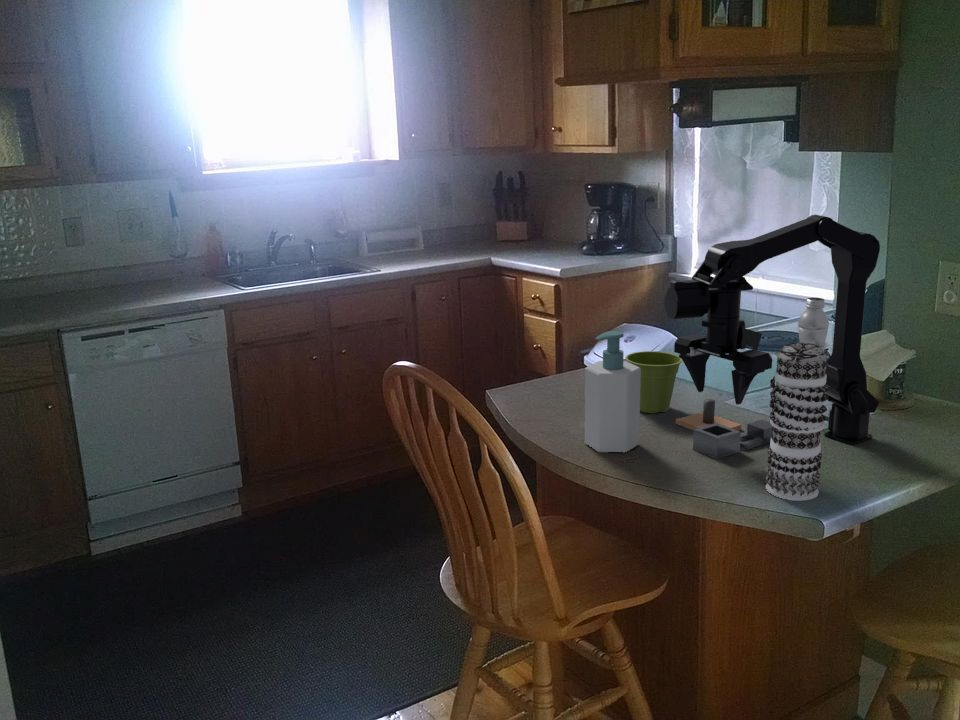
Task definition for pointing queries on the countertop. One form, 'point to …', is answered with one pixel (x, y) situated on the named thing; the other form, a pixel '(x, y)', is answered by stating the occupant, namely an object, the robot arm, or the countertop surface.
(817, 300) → the plastic bottle
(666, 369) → the plant pot
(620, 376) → the soap bottle
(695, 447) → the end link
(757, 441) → the dark clasp block
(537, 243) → the countertop surface
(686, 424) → the tan board with knob
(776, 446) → the decorative candle
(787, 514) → the countertop surface
